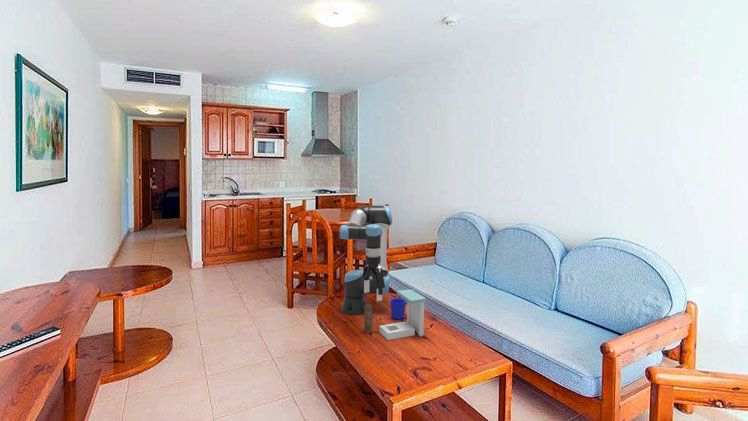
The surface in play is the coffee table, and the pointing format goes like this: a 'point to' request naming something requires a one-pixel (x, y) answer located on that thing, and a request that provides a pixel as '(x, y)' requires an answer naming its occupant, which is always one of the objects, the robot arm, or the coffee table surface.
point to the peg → (368, 318)
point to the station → (413, 318)
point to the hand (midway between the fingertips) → (372, 296)
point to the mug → (398, 308)
